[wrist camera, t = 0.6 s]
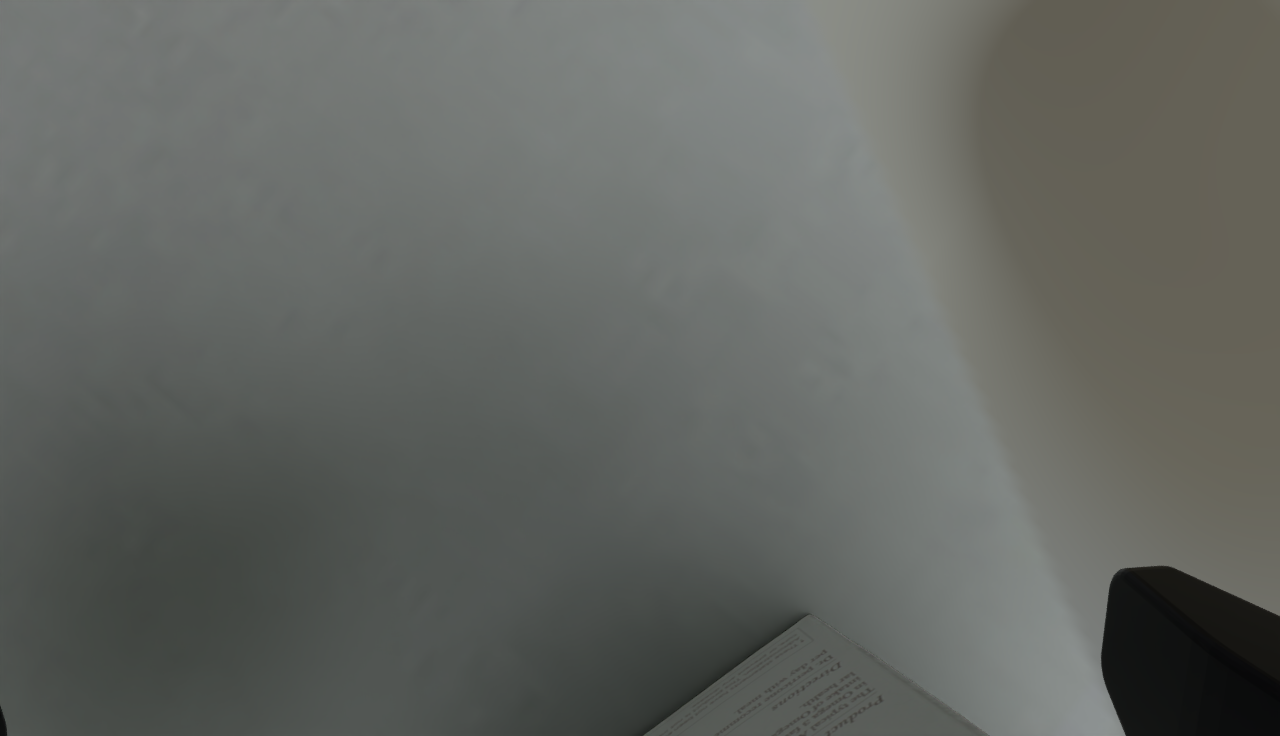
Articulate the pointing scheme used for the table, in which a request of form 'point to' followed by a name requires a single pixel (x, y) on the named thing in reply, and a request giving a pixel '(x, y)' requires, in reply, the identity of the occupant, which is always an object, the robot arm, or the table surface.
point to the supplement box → (814, 694)
